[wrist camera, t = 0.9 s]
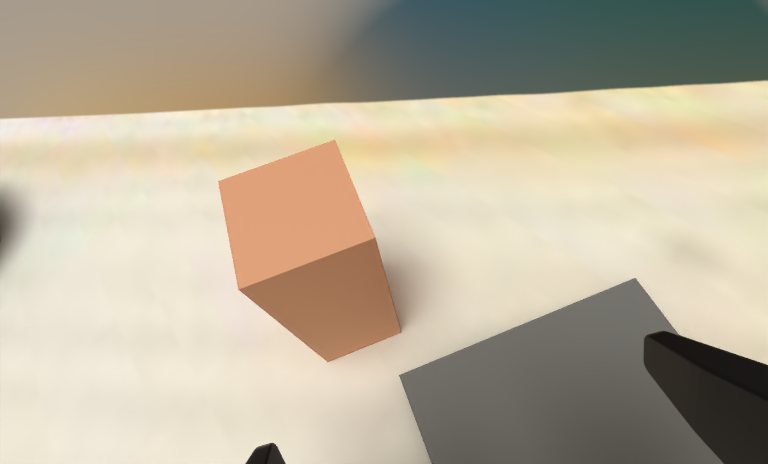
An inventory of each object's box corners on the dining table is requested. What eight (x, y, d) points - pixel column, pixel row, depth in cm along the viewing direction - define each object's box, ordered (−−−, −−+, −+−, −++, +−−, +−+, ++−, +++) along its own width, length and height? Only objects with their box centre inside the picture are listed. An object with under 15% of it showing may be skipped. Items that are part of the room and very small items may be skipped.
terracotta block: (401, 332, 25) (375, 237, 14) (327, 362, 25) (238, 289, 13) (375, 266, 27) (334, 139, 16) (307, 292, 27) (218, 181, 16)
